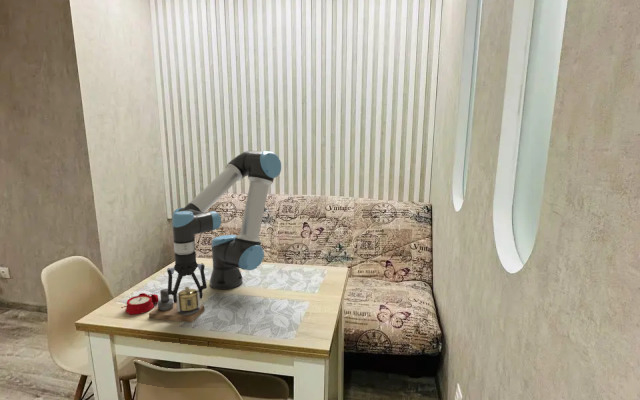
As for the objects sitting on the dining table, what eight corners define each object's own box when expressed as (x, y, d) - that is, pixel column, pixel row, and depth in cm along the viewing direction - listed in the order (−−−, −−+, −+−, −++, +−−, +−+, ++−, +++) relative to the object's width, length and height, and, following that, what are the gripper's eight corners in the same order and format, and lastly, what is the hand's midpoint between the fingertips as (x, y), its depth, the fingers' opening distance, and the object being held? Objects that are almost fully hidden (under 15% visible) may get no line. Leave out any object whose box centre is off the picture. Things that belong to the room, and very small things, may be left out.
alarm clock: (116, 306, 145) (141, 283, 159) (120, 319, 148) (144, 295, 161) (140, 308, 143) (162, 285, 157) (143, 321, 146) (165, 298, 159)
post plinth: (149, 318, 143) (147, 295, 142) (164, 306, 153) (162, 284, 151) (191, 322, 140) (190, 298, 138) (204, 310, 150) (203, 288, 148)
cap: (178, 304, 146) (177, 287, 145) (196, 301, 149) (195, 284, 148) (180, 312, 140) (178, 294, 139) (198, 308, 143) (197, 291, 142)
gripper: (157, 258, 133) (161, 317, 137) (213, 251, 142) (216, 307, 146) (156, 252, 140) (160, 309, 144) (210, 245, 148) (212, 299, 153)
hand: (188, 307), depth 145 cm, fingers closed on cap, 7 cm apart
